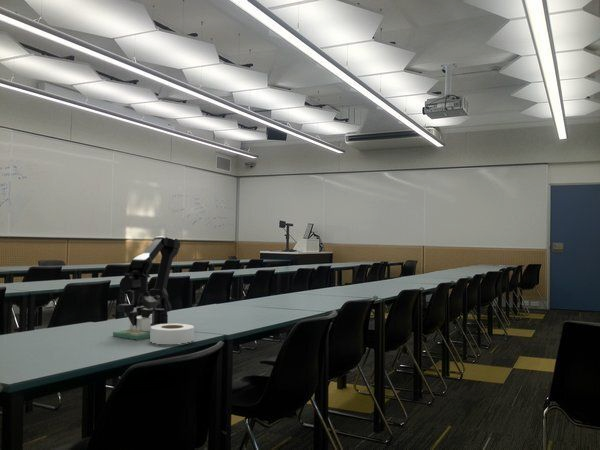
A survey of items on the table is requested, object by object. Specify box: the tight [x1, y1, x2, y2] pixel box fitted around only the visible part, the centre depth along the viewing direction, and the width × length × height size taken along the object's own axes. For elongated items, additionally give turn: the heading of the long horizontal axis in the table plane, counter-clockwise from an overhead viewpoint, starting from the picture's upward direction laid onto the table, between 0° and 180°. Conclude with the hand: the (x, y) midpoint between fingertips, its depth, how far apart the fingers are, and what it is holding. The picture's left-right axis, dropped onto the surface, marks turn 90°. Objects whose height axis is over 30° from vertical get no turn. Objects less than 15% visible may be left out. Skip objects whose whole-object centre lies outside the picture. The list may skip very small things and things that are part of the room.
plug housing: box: [128, 315, 152, 332], centre depth 216 cm, size 8×4×5 cm, turn 56°
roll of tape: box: [149, 322, 195, 345], centre depth 196 cm, size 16×16×6 cm
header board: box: [112, 325, 150, 341], centre depth 204 cm, size 14×9×4 cm, turn 56°
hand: (139, 327), depth 216 cm, fingers closed on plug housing, 4 cm apart
